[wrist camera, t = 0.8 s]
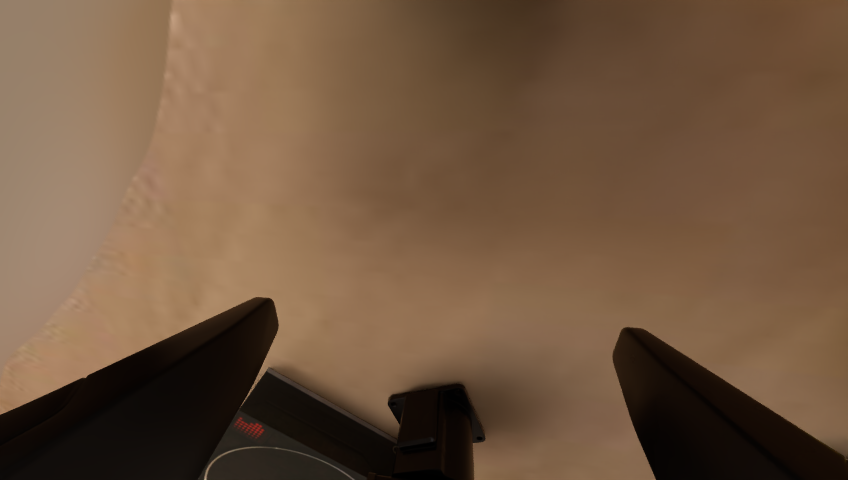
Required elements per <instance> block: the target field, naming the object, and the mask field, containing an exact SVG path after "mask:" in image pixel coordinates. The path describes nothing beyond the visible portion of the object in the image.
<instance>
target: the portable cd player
mask: <svg viewBox="0 0 848 480" xmlns="http://www.w3.org/2000/svg"><path fill="white" fill-rule="evenodd" d="M396 448H397V439H395V438H393V437H391V436H390V435H388V434H386V433H384V432H383V431H381V430H379V429H377V428H375V427H374V426H372V425H370V424H368V423H367V422H365V421H363V420H361V419H359V418H358V417H356V416H354V415H352V414H351V413H349V412H347V411H345V410H343V409H342V408H340V407H338V406H336V405H334V404H333V403H331V402H329V401H327V400H326V399H324V398H322V397H320V396H318V395H317V394H315V393H313V392H311V391H310V390H308V389H306V388H304V387H302V386H301V385H299V384H297V383H295V382H294V381H292V380H290V379H288V378H286V377H285V376H283V375H281V374H279V373H277V372H276V371H274V370H272V369H270V368H268V369H267V371H266V372H265V374H264V375H263V376H262V378H261V379H260V381H259V382H258V383H257V385H256V386H255V388H254V389H253V391H252V392H251V393H250V395H249V396H248V398H247V399H246V400H245V402H244V403H243V405H242V406H241V407H240V409H239V410H238V412H237V413H236V415H235V417H234V418H233V420H232V422H231V424H230V425H229V427H228V429H227V430H226V432H225V434H224V436H223V437H222V439H221V441H220V442H219V444H218V446H217V447H216V449H215V451H214V453H213V454H212V456H211V458H210V459H209V461H208V463H207V465H206V466H205V468H204V470H203V471H202V473H201V475H200V477H199V478H198V480H367V477H368V474H369V473H377V475H380V476H388V477H392V471H393V465H394V460H395V454H396Z"/></svg>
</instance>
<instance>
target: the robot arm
mask: <svg viewBox="0 0 848 480" xmlns="http://www.w3.org/2000/svg"><path fill="white" fill-rule="evenodd" d="M278 326H279V324H278V318H277V314H276V309H275V305H274V301H273V300H272V299H270V298H263V297H255V298H253V299H251V300H248V301H246V302H244V303H242V304H240V305H238V306H236V307H233V308H231V309H229V310H227V311H225V312H223V313H221V314H218V315H216V316H214V317H212V318H210V319H208V320H205V321H203V322H201V323H199V324H197V325H195V326H193V327H190V328H188V329H186V330H184V331H182V332H180V333H178V334H175V335H173V336H171V337H169V338H167V339H165V340H163V341H160V342H158V343H156V344H154V345H152V346H150V347H148V348H145V349H143V350H141V351H139V352H137V353H135V354H133V355H130V356H128V357H126V358H124V359H122V360H120V361H118V362H115V363H113V364H111V365H109V366H107V367H105V368H103V369H100V370H98V371H96V372H94V373H92V374H90V375H88V376H87V377H86V378H81V379H79V380H77V381H74V382H72V383H70V384H68V385H66V386H64V387H62V388H60V389H57V390H55V391H53V392H51V393H49V394H46V395H44V396H42V397H40V398H38V399H35V400H33V401H31V402H29V403H26V404H24V405H22V406H20V407H18V408H15V409H13V410H11V411H8V412H6V413H4V414H1V415H0V480H198V478H199V477H200V475H201V473H202V471H203V470H204V468H205V466H206V465H207V463H208V461H209V459H210V458H211V456H212V454H213V453H214V451H215V449H216V447H217V446H218V444H219V442H220V441H221V439H222V437H223V436H224V434H225V432H226V430H227V429H228V427H229V425H230V424H231V422H232V420H233V418H234V417H235V415H236V413H237V412H238V410H239V408H240V406H241V405H242V403H243V401H244V400H245V398H246V396H247V394H248V393H249V391H250V389H251V387H252V385H253V383H254V381H255V379H256V377H257V375H258V373H259V371H260V369H261V367H262V364H263V362H264V360H265V358H266V356H267V353H268V351H269V349H270V347H271V345H272V343H273V340H274V338H275V336H276V334H277V331H278ZM613 363H614V367H615V370H616V373H617V376H618V379H619V383H620V386H621V389H622V392H623V395H624V399H625V402H626V405H627V408H628V412H629V415H630V418H631V421H632V423H633V426H634V429H635V431H636V434H637V436H638V439H639V441H640V443H641V446H642V448H643V450H644V453H645V455H646V457H647V460H648V462H649V464H650V467H651V469H652V471H653V474H654V476H655V478H656V480H848V460H845V458H844V457H843V456H842V455H841V454H839V453H838V452H836V451H835V450H833V449H831V448H830V447H828V446H827V445H825V444H824V443H822V442H820V441H819V440H817V439H816V438H814V437H813V436H811V435H809V434H808V433H806V432H805V431H803V430H802V429H800V428H798V427H797V426H795V425H794V424H792V423H791V422H789V421H787V420H786V419H784V418H783V417H781V416H780V415H778V414H776V413H775V412H773V411H772V410H770V409H769V408H767V407H765V406H764V405H762V404H761V403H759V402H758V401H756V400H754V399H753V398H751V397H750V396H748V395H747V394H745V393H743V392H742V391H740V390H739V389H737V388H736V387H734V386H732V385H731V384H729V383H728V382H726V381H725V380H723V379H721V378H720V377H718V376H717V375H715V374H714V373H712V372H710V371H709V370H707V369H706V368H704V367H703V366H701V365H699V364H698V363H696V362H695V361H693V360H692V359H690V358H688V357H687V356H685V355H684V354H682V353H681V352H679V351H677V350H676V349H674V348H673V347H671V346H670V345H668V344H666V343H665V342H663V341H662V340H660V339H659V338H657V337H655V336H654V335H652V334H651V333H649V332H648V331H646V330H644V329H641V328H630V327H626V328H623V329H622V330H621V332H620V335H619V338H618V340H617V343H616V346H615V349H614V351H613ZM388 406H389V407H390V409H391V411H392V413H393V414H394V416H395V418H396V419H397V421H398V423H399V425H400V428H399V434H398V439H397V448H396V454H395V460H394V465H393V471H392V477H388V476H380V475H377V473H369V474H368V477H367V480H474V462H473V443H478V442H483V441H485V432H484V430H483V427H482V425H481V423H480V421H479V418H478V416H477V414H476V412H475V409H474V407H473V405H472V403H471V400H470V398H469V396H468V394H467V391H466V389H465V387H464V386H463V385H462V384H452V385H447V386H441V387H436V388H431V389H426V390H421V391H415V392H410V393H405V394H400V395H394V396H391V397H389V400H388Z"/></svg>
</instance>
